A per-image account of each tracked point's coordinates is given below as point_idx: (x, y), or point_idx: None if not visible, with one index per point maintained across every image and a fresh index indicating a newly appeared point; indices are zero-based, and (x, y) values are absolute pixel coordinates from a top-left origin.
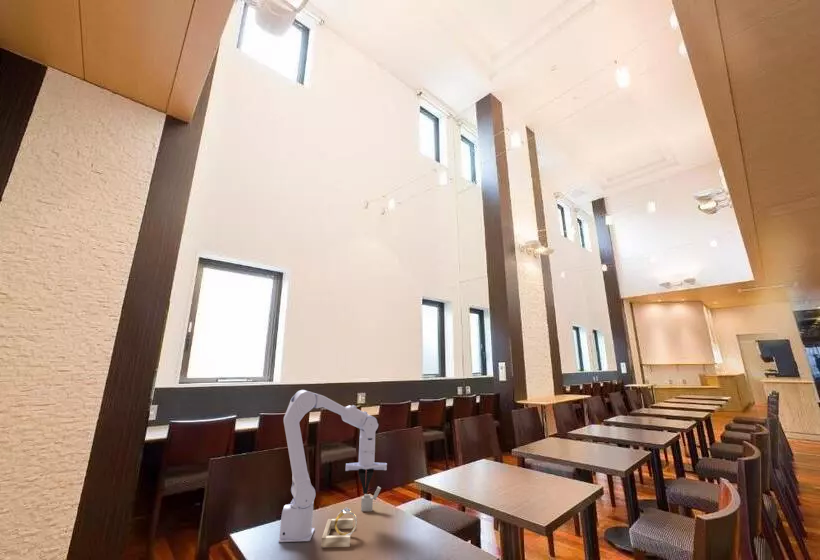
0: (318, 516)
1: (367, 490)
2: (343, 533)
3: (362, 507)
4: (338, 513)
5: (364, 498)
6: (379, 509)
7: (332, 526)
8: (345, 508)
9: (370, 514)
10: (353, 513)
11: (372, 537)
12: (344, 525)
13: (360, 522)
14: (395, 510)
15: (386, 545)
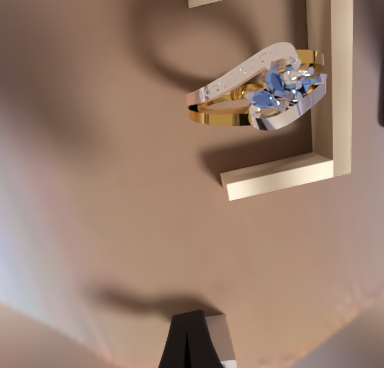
0: (379, 246)
1: (168, 335)
2: (245, 89)
3: (222, 325)
4: (324, 87)
5: (221, 360)
6: (159, 337)
7: (311, 156)
8: (291, 97)
9: (181, 297)
10: (215, 94)
11: (106, 105)
12: (259, 168)
13: (202, 230)
14: (95, 342)
15: (6, 31)
